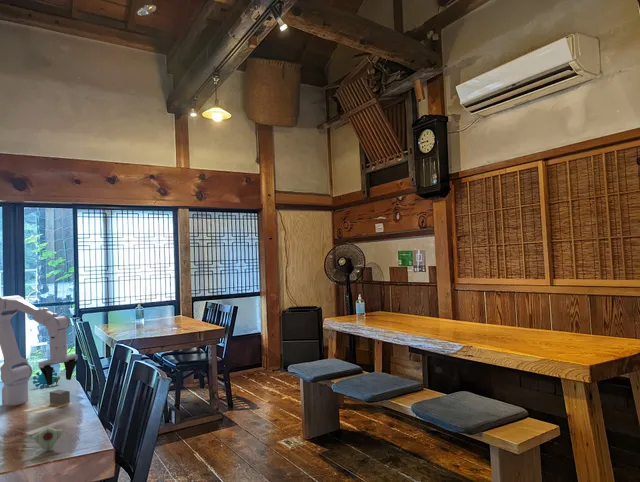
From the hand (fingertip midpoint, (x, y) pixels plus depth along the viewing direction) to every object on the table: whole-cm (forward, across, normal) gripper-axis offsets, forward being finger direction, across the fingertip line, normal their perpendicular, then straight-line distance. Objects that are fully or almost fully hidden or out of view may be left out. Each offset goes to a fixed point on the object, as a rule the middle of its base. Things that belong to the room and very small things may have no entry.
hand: (59, 382), depth 177 cm
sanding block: (+8, 0, 0) cm, 8 cm away
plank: (+9, -4, 0) cm, 10 cm away
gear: (+10, +17, +38) cm, 42 cm away
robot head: (+10, -28, -40) cm, 50 cm away
